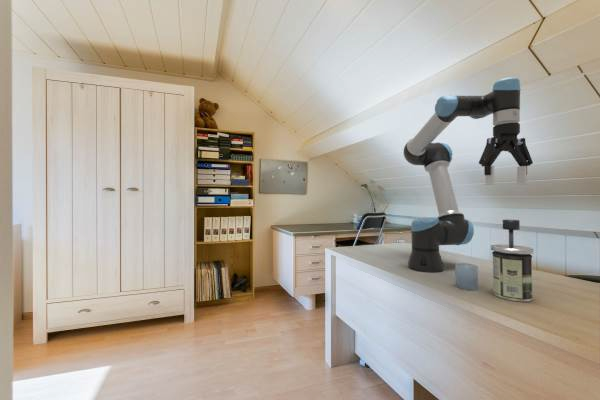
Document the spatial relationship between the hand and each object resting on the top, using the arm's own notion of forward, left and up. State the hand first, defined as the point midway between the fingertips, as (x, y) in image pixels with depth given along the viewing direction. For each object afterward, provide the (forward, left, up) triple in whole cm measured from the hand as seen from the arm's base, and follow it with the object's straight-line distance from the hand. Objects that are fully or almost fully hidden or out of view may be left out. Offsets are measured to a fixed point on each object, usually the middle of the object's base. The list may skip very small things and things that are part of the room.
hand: (505, 184), depth 94 cm
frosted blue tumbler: (-6, -12, -37) cm, 39 cm away
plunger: (+5, -5, -22) cm, 23 cm away
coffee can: (+5, -5, -37) cm, 38 cm away
